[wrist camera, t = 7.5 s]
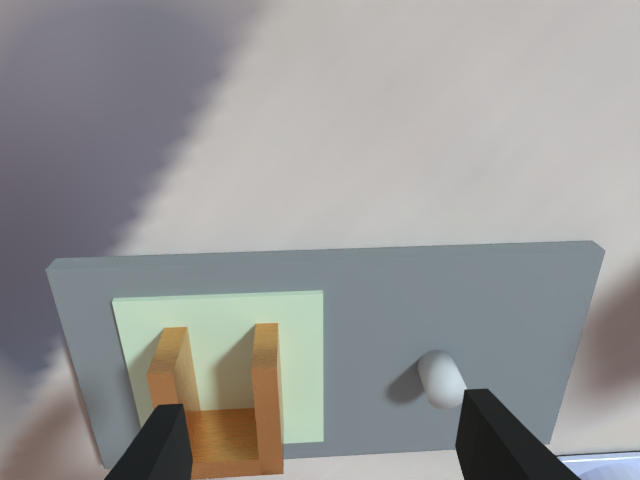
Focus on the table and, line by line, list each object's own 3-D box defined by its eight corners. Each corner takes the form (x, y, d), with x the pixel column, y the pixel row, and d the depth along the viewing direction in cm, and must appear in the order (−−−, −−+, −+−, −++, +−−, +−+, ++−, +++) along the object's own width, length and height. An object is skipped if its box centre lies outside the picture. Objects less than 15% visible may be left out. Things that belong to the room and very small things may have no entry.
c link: (283, 421, 24) (283, 474, 21) (182, 426, 24) (169, 480, 21) (278, 322, 21) (276, 368, 18) (164, 327, 21) (146, 374, 18)
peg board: (540, 429, 27) (568, 476, 24) (110, 453, 26) (90, 505, 23) (592, 240, 22) (635, 273, 19) (56, 258, 21) (20, 295, 18)
